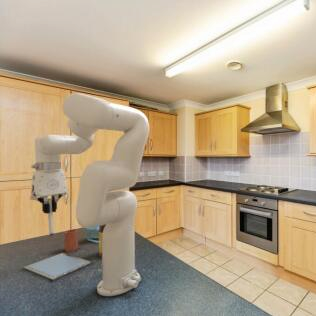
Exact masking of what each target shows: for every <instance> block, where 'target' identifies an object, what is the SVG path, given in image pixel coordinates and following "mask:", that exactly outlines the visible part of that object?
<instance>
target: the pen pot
mask: <svg viewBox="0 0 316 316" xmlns="http://www.w3.org/2000/svg"><path fill="white" fill-rule="evenodd" d="M78 231H79V230H78V229H76V228H74V229H68V230H66V231H64V252H66V253H68V252H69V253H70V252H74V251H77V250H78V249H79V240H78V239H79V238H78V235H79V233H78Z"/></svg>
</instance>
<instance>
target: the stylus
mask: <svg viewBox="0 0 316 316" xmlns="http://www.w3.org/2000/svg"><path fill="white" fill-rule="evenodd" d="M48 203H49V204H50V213H48V214H47V219H48V221H47V222H48V234H49V236H50V237H53V236H54V233H55V228H54V227H55V226H54V212H52V198H51V197H50V198H48Z"/></svg>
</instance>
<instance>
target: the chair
mask: <svg viewBox="0 0 316 316" xmlns="http://www.w3.org/2000/svg"><path fill="white" fill-rule="evenodd" d="M85 231H86V233H87V235H86V236H87V237H86V240H87V241H88V242H92V243H95V244H99V240H95V239H99V236H96V235H97V233H98V232H99V226H98V227H95V228H85ZM92 232H93V233H92ZM91 233H92V235H91Z"/></svg>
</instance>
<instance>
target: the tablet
mask: <svg viewBox="0 0 316 316" xmlns="http://www.w3.org/2000/svg"><path fill="white" fill-rule="evenodd" d="M91 264H92V261H90V260H87V259H83V258H81V257H78V256H75V255H71V254H68V253H65V252H61V253H58V254H56V255H53V256H50V257H48V258H44V259H41V260H39V261H37V262H34V263H31V264H28V265H26V266H23V267H22V268H23V269H25V270H27V271H29V272H32V273H34V274H36V275H39V276H41V277H44V278H46V279H48V280H49V281H51V282H54V281H56V280H59V279H61V278H63V277H66V276H68V275H70V274H72V273H74V272H77V271H78V270H80V269H81V270H82V269H83V268H85V267H88V266H89V265H91Z"/></svg>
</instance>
